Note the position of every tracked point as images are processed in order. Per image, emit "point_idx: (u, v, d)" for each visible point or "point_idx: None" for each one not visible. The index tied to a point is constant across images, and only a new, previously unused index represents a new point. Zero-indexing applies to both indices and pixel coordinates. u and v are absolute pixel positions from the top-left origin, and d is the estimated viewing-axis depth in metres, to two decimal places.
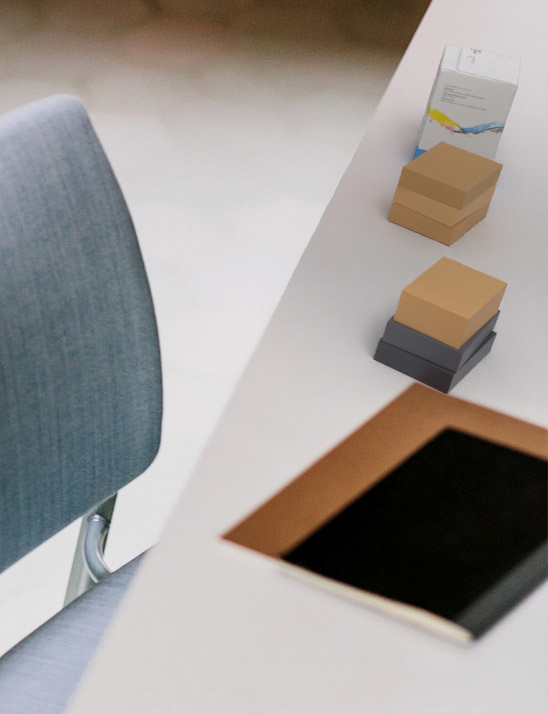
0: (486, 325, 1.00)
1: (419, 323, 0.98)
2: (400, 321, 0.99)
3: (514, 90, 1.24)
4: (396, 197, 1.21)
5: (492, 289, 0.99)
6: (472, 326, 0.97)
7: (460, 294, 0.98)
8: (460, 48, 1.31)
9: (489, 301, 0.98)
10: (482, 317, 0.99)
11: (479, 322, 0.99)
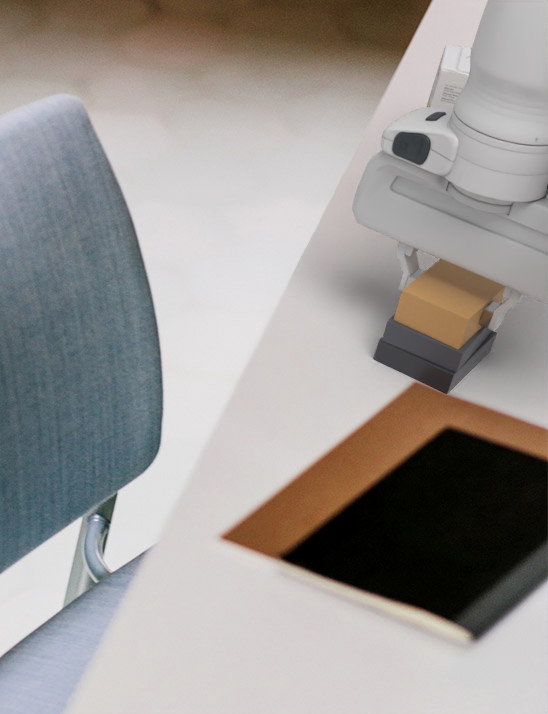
0: None
1: (419, 323, 0.98)
2: (400, 321, 0.99)
3: None
4: None
5: (492, 289, 0.99)
6: (472, 326, 0.97)
7: (460, 294, 0.98)
8: (460, 48, 1.31)
9: (489, 301, 0.98)
10: None
11: None
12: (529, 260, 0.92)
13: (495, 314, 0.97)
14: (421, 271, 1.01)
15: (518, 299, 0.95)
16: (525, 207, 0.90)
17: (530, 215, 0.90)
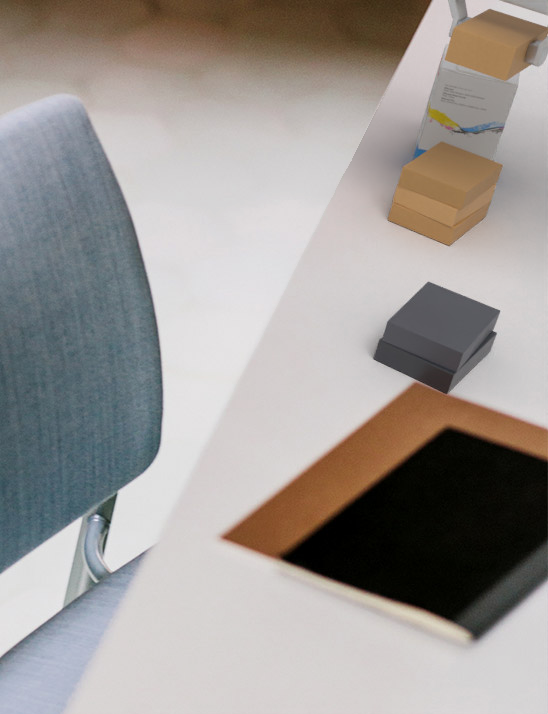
0: (486, 325, 1.00)
1: (469, 59, 1.06)
2: (451, 60, 1.07)
3: (514, 90, 1.24)
4: (396, 197, 1.21)
5: (536, 30, 1.07)
6: (518, 60, 1.05)
7: (506, 33, 1.06)
8: None
9: (534, 39, 1.06)
10: None
11: None
12: None
13: (540, 48, 1.05)
14: (470, 18, 1.09)
15: None
16: None
17: None
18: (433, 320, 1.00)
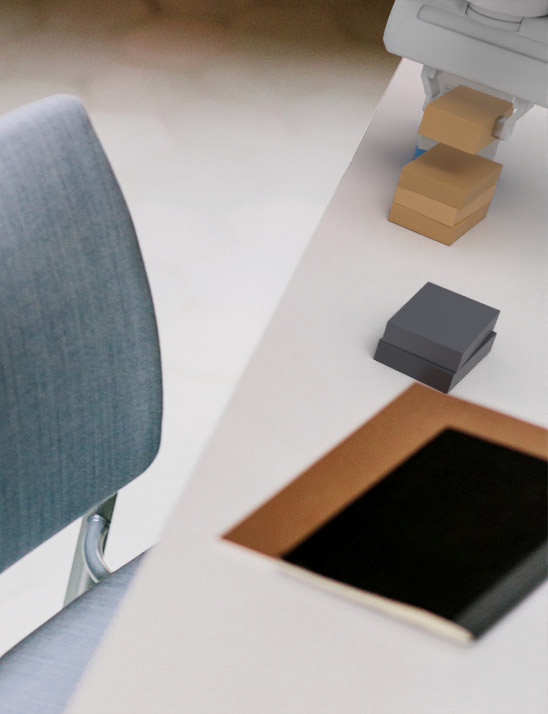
0: (486, 325, 1.00)
1: (440, 134, 1.15)
2: (424, 134, 1.16)
3: None
4: (396, 197, 1.21)
5: (502, 107, 1.16)
6: (486, 135, 1.14)
7: (475, 109, 1.15)
8: None
9: (500, 115, 1.15)
10: None
11: None
12: (535, 70, 1.09)
13: (506, 124, 1.14)
14: (442, 94, 1.18)
15: (525, 108, 1.12)
16: (532, 23, 1.07)
17: (537, 29, 1.07)
18: (433, 320, 1.00)
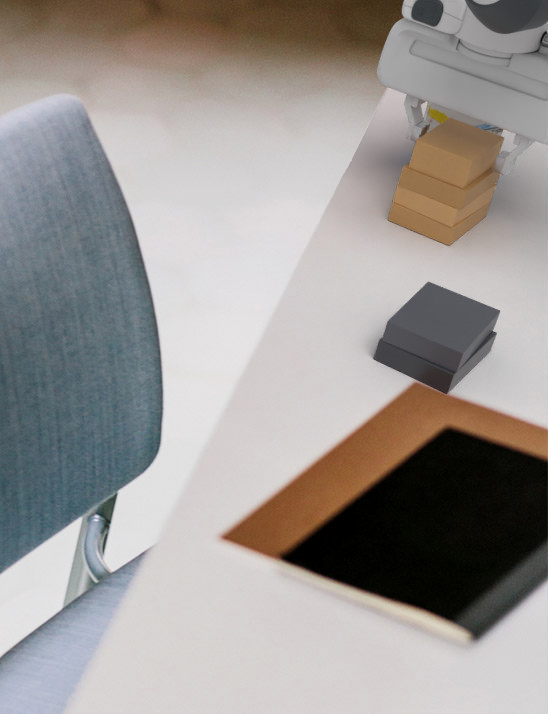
0: (486, 325, 1.00)
1: (430, 168, 1.17)
2: (414, 168, 1.18)
3: None
4: (396, 197, 1.21)
5: (491, 141, 1.18)
6: (475, 169, 1.16)
7: (464, 144, 1.17)
8: None
9: (489, 149, 1.17)
10: (483, 164, 1.17)
11: (481, 168, 1.17)
12: (525, 104, 1.11)
13: (507, 160, 1.15)
14: (425, 122, 1.20)
15: (526, 145, 1.13)
16: (522, 58, 1.09)
17: (526, 65, 1.09)
18: (433, 320, 1.00)
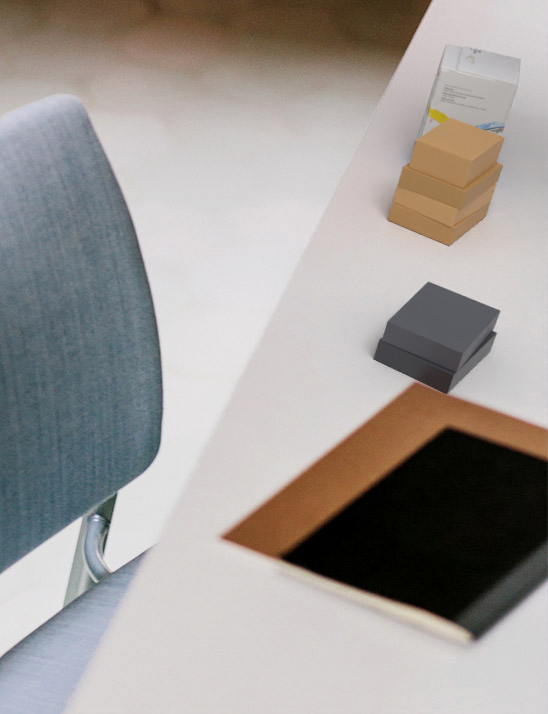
0: (486, 325, 1.00)
1: (430, 168, 1.17)
2: (414, 168, 1.18)
3: (514, 90, 1.24)
4: (396, 197, 1.21)
5: (491, 141, 1.18)
6: (475, 169, 1.16)
7: (464, 144, 1.17)
8: (460, 48, 1.31)
9: (489, 149, 1.17)
10: (483, 164, 1.17)
11: (481, 168, 1.17)
12: None
13: None
14: None
15: None
16: None
17: None
18: (433, 320, 1.00)
